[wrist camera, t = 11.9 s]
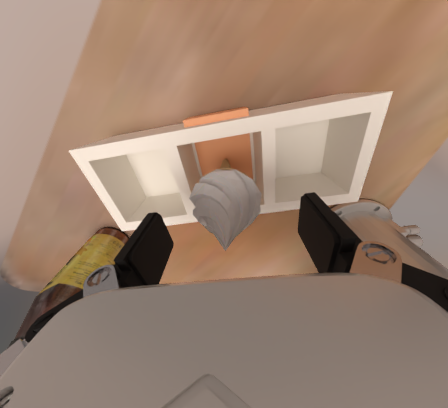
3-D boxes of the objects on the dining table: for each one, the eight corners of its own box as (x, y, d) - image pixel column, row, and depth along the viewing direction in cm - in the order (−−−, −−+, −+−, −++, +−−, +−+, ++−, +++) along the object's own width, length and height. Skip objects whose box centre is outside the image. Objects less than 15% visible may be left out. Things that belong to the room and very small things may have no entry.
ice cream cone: (219, 128, 19) (206, 186, 7) (256, 154, 21) (301, 241, 8) (196, 166, 22) (156, 259, 9) (231, 187, 24) (236, 290, 11)
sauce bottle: (94, 223, 29) (-87, 393, 12) (131, 229, 30) (8, 398, 13) (100, 248, 32) (-35, 408, 16) (133, 253, 33) (38, 411, 16)
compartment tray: (340, 87, 18) (396, 81, 12) (325, 175, 24) (358, 201, 18) (110, 131, 21) (64, 144, 15) (145, 201, 26) (121, 231, 21)
